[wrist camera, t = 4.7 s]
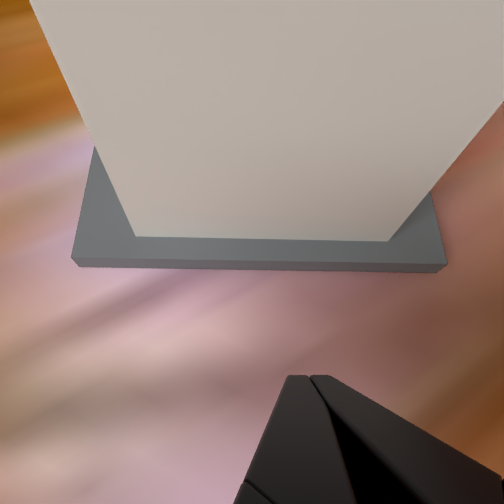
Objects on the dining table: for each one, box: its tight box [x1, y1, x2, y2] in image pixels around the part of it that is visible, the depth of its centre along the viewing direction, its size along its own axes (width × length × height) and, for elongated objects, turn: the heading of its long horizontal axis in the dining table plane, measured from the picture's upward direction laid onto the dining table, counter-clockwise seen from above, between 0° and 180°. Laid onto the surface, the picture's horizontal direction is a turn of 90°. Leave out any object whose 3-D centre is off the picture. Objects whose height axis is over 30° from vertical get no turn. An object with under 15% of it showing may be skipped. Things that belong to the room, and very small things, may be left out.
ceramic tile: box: [29, 0, 504, 242], centre depth 12 cm, size 3×11×12 cm, turn 90°
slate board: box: [71, 146, 448, 273], centre depth 21 cm, size 18×16×1 cm
